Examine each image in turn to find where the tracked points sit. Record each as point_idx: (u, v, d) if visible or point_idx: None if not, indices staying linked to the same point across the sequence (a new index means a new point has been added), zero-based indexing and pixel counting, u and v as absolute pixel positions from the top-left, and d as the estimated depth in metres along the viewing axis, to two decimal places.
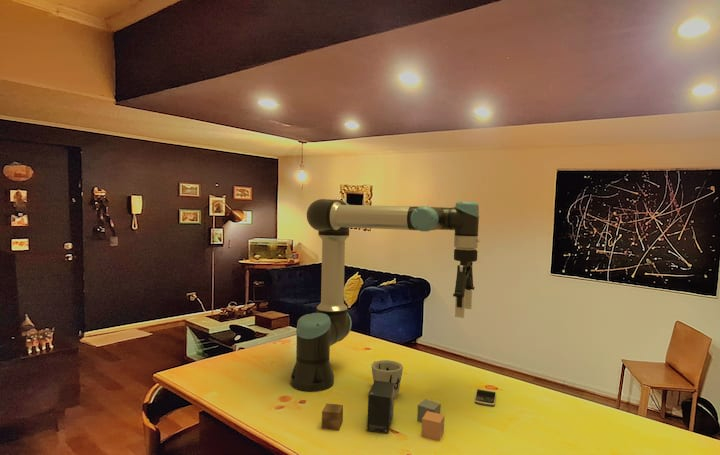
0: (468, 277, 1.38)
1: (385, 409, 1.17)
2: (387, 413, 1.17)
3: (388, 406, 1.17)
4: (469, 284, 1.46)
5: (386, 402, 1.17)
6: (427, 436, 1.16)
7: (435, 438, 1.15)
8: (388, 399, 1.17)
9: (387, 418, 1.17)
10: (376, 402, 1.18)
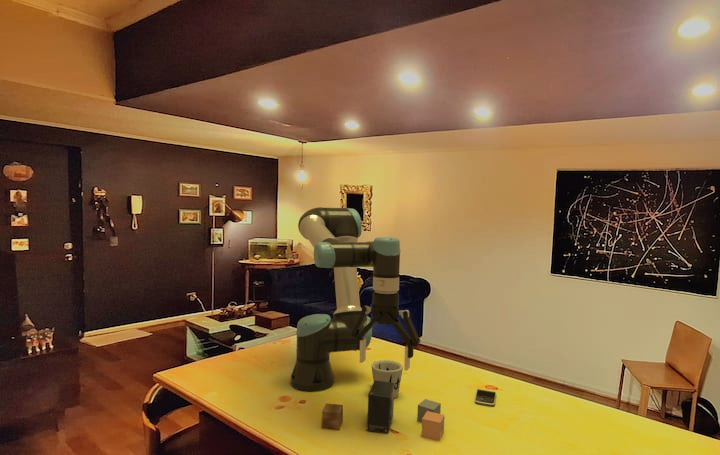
0: (373, 322, 1.22)
1: (385, 409, 1.17)
2: (387, 413, 1.17)
3: (388, 406, 1.17)
4: None
5: (386, 402, 1.17)
6: (427, 436, 1.16)
7: (435, 438, 1.15)
8: (388, 399, 1.17)
9: (387, 418, 1.17)
10: (376, 402, 1.18)
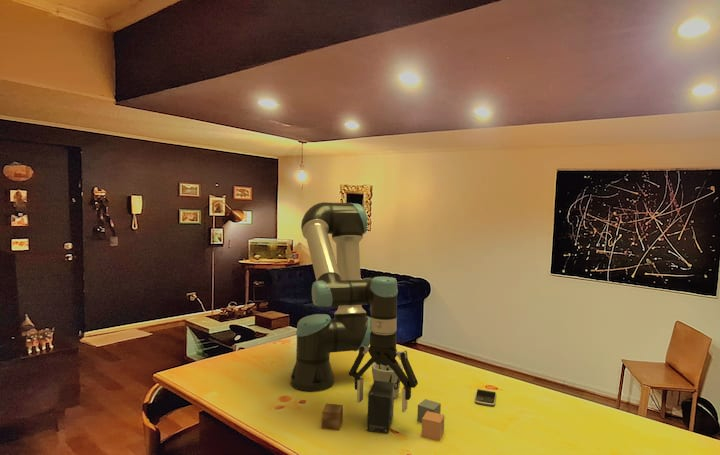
0: (370, 363, 1.22)
1: (385, 409, 1.17)
2: (387, 413, 1.17)
3: (388, 406, 1.17)
4: None
5: (386, 402, 1.17)
6: (427, 436, 1.16)
7: (435, 438, 1.15)
8: (388, 399, 1.17)
9: (387, 418, 1.17)
10: (376, 402, 1.18)
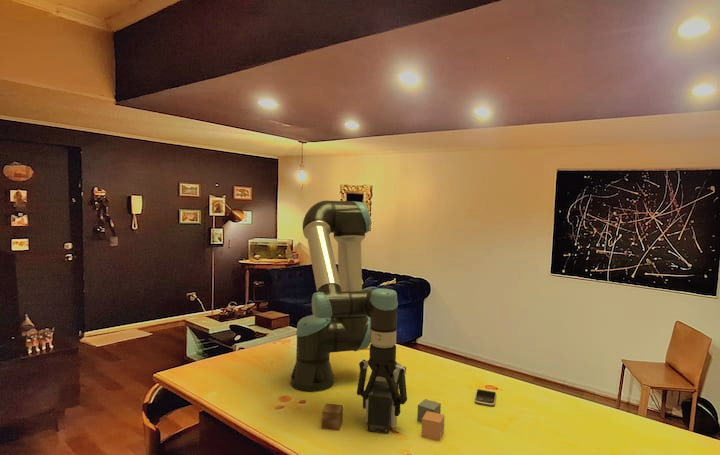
0: (373, 377, 1.22)
1: (385, 409, 1.17)
2: (387, 413, 1.17)
3: (388, 406, 1.17)
4: None
5: (386, 402, 1.17)
6: (427, 436, 1.16)
7: (435, 438, 1.15)
8: (388, 399, 1.17)
9: (387, 418, 1.17)
10: (377, 402, 1.18)
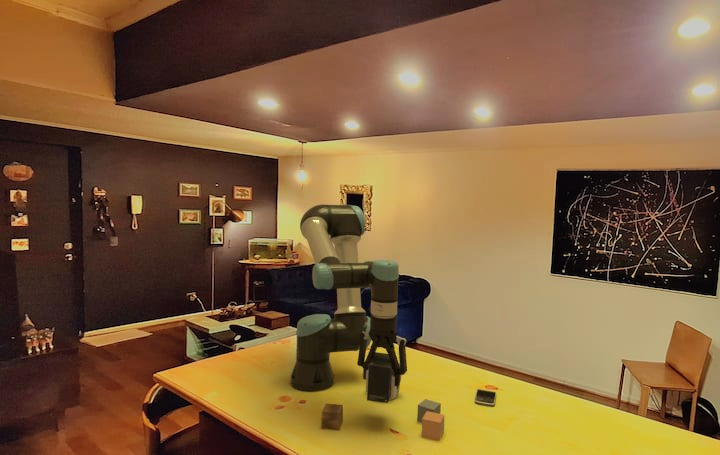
0: (373, 347, 1.22)
1: (385, 379, 1.18)
2: (387, 383, 1.18)
3: (388, 376, 1.17)
4: None
5: (386, 372, 1.17)
6: (427, 436, 1.16)
7: (435, 438, 1.15)
8: (388, 369, 1.17)
9: (387, 388, 1.18)
10: (377, 372, 1.18)
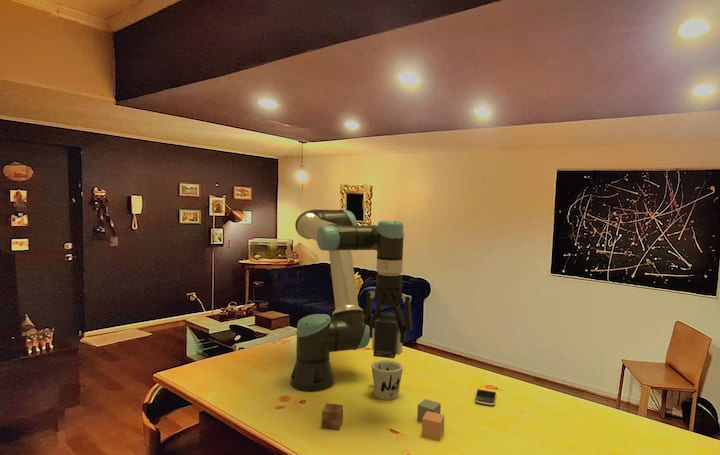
0: (379, 305, 1.24)
1: (391, 334, 1.20)
2: (393, 338, 1.20)
3: (394, 332, 1.20)
4: None
5: (392, 328, 1.20)
6: (427, 436, 1.16)
7: (435, 438, 1.15)
8: (394, 325, 1.20)
9: (393, 343, 1.20)
10: (383, 328, 1.21)
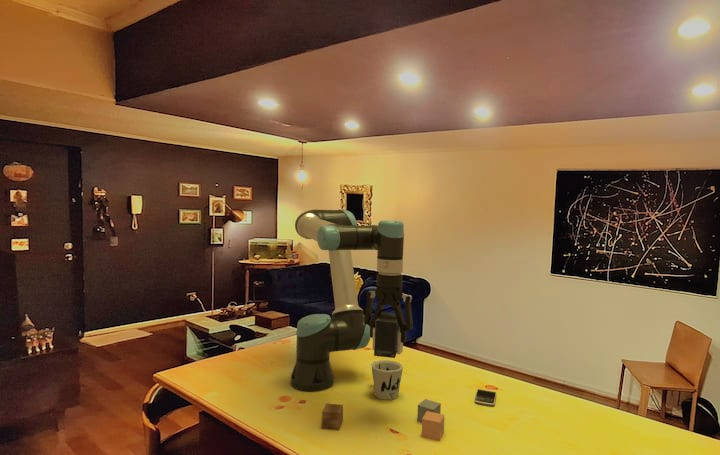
0: (380, 305, 1.25)
1: (392, 334, 1.20)
2: (394, 338, 1.20)
3: (395, 331, 1.20)
4: None
5: (393, 327, 1.20)
6: (427, 436, 1.16)
7: (435, 438, 1.15)
8: (395, 324, 1.20)
9: (394, 343, 1.20)
10: (383, 328, 1.21)
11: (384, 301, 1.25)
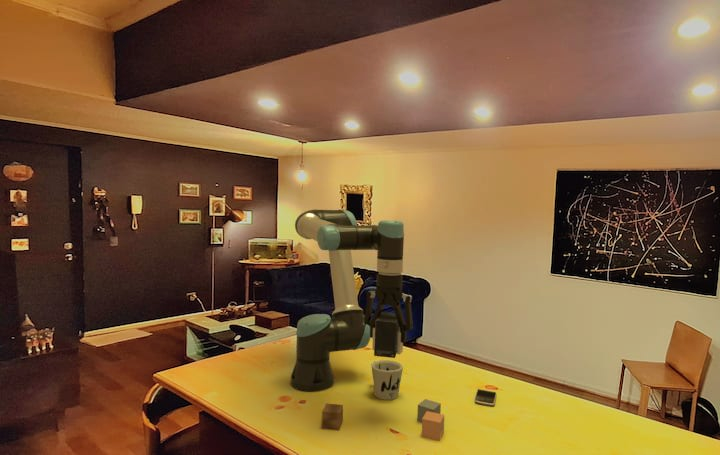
0: (380, 305, 1.25)
1: (392, 334, 1.20)
2: (394, 338, 1.20)
3: (395, 331, 1.20)
4: None
5: (393, 327, 1.20)
6: (427, 436, 1.16)
7: (435, 438, 1.15)
8: (395, 324, 1.20)
9: (394, 343, 1.20)
10: (383, 328, 1.21)
11: (384, 301, 1.25)
